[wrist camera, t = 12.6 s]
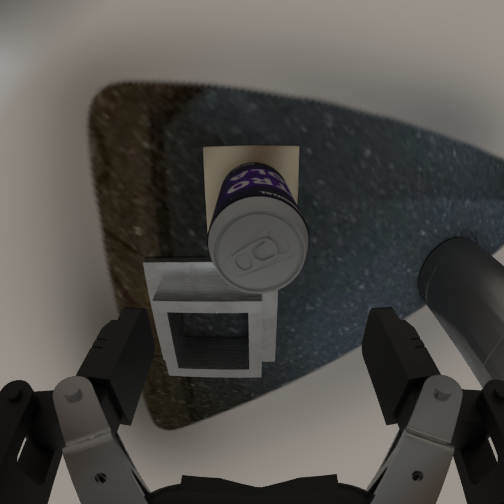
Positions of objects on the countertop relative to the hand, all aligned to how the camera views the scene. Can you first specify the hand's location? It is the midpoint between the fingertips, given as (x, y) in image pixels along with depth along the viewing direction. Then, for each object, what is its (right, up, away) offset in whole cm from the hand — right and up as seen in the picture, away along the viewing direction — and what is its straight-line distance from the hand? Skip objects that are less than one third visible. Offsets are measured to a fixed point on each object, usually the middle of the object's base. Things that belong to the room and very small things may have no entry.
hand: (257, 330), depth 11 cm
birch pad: (0, +8, +17) cm, 19 cm away
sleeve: (-4, -4, +22) cm, 23 cm away
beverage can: (0, +8, +16) cm, 18 cm away
